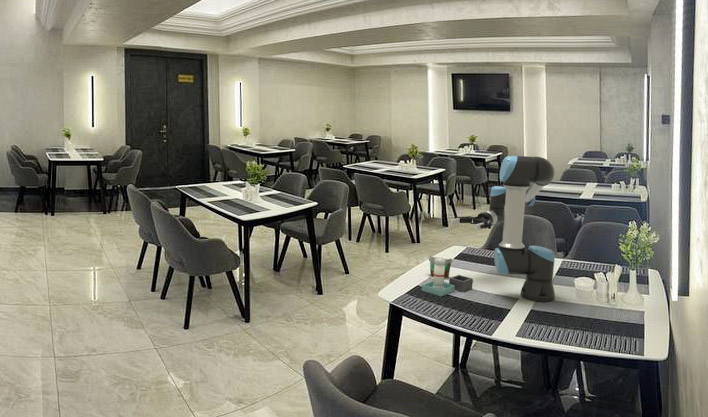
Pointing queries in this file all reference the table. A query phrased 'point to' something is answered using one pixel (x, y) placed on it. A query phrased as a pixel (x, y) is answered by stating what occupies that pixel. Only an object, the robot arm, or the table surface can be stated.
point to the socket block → (461, 283)
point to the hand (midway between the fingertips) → (463, 225)
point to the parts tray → (429, 289)
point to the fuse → (439, 273)
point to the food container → (447, 266)
